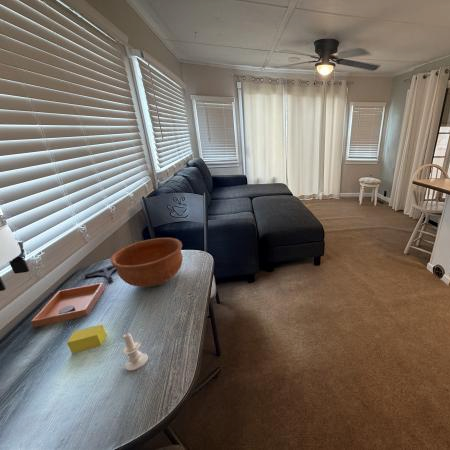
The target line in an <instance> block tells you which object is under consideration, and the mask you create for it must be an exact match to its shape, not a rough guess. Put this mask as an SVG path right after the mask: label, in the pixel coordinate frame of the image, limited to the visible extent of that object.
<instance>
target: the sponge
mask: <svg viewBox="0 0 450 450" xmlns="http://www.w3.org/2000/svg"><path fill="white" fill-rule="evenodd" d="M104 327H105V326H104V325H103V324H99V325H95V326H91V327H87V328H83V329H78V330H74V331H73V332H72V334H71V336H70V337H69V339H68V340H67V341H66V344H67V346H68V348H69V350H70V352H71V354H74V353H78V352H82V351H85V350H89V349H93V348H97V347H100V346H101V347H102V345H103V343H104V341H105V338H106V336H107V332H106V330H105V328H104Z"/></svg>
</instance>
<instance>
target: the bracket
mask: <svg viewBox="0 0 450 450" xmlns="http://www.w3.org/2000/svg"><path fill="white" fill-rule="evenodd" d="M110 269H111V270H110ZM115 270H116V271H117V269H116V267H115V266H114V265H112V264H111V265H110V266H105V267H103V268H100V269H99V268H98V269H97V270H94V271H89V272H87V273H84V274H83V276H84V278H90V277H98V276H99V277H100V276H101V277H104V278H106V279H107V282H108V283H109V284H110V283H113V282H114V281H113V278H112V276H111V275H112V273H114V272H115ZM101 272H102V273H101Z"/></svg>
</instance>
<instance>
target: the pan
mask: <svg viewBox="0 0 450 450" xmlns="http://www.w3.org/2000/svg"><path fill="white" fill-rule="evenodd" d="M105 289H106V287H105V283H104V282H99V283H94V284H87V285H83V286H78V287H77V286H76V287H72V288H66V289H62V290H58V291H57V292H56V293H55V294H54V295H53V297H51V299H50V300H49V301H48V302H47V303H46V304H45V305H44V306H43V307H42V308H41V309H40V310H39V312H38V313H36V315H35V316H34V317H33V318H32V319H31V320H30V323H31V324H32V326H33V328H39V327H43V326H48V325H51V324H57V323H61V322H65V321H69V320H74V319H78V318H83V317H87V316H89V315H90V313H91V311H92V309H93V308H94V306H95V305H96V303H97V301H98V300H99V298H100V297H101V296H102V293H103V292H104V290H105ZM70 305H73V306H74V307H75V309H76V311H72V312H68V313H63V314H59V310H61V309H62V308H64V307H66V306H70Z"/></svg>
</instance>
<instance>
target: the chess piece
mask: <svg viewBox="0 0 450 450" xmlns="http://www.w3.org/2000/svg"><path fill="white" fill-rule="evenodd" d="M122 337H123V340H124V342H125V346H124V348H123V349H122V354H123V355H128V356H127V358H126V360H127V361H126V362H125V364H124V368H125V371H127V372H135V371H137V370H139V369H141V368H143V366H145V365H146V364H147V362H148V359H149V357H148V354H147V353H145V352H141V351H140V350H139V349H140V347H141V342H139V341H134V339H133V336H132V335H131V333H129V332H126V333H124V335H123V336H122Z"/></svg>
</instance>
